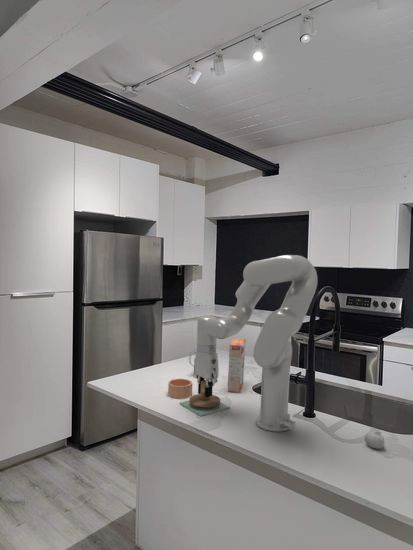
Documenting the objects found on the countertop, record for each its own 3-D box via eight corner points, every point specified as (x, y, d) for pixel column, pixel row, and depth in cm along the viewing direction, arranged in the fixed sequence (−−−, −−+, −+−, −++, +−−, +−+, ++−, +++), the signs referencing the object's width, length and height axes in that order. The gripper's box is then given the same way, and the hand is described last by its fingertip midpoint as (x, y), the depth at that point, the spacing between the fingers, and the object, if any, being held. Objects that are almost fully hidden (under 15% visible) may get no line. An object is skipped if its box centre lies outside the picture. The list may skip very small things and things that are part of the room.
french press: (215, 377, 185) (216, 326, 184) (192, 379, 181) (193, 327, 180) (207, 371, 194) (209, 322, 193) (185, 373, 190) (187, 323, 189)
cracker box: (241, 393, 165) (242, 345, 164) (227, 392, 166) (228, 344, 165) (244, 383, 179) (246, 338, 178) (231, 381, 180) (233, 337, 179)
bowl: (196, 395, 161) (196, 383, 161) (176, 400, 155) (176, 388, 155) (183, 388, 169) (183, 377, 168) (163, 392, 163) (164, 381, 163)
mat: (229, 408, 148) (229, 406, 148) (200, 416, 140) (200, 415, 140) (208, 397, 159) (208, 395, 159) (179, 404, 151) (179, 402, 151)
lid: (226, 403, 148) (227, 383, 148) (201, 409, 141) (202, 388, 141) (207, 393, 158) (208, 375, 157) (183, 399, 151) (183, 379, 150)
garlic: (387, 447, 121) (388, 431, 121) (381, 453, 117) (382, 436, 117) (367, 440, 125) (368, 425, 125) (361, 446, 121) (362, 430, 121)
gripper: (227, 351, 144) (226, 399, 145) (201, 342, 157) (200, 387, 158) (211, 354, 140) (210, 403, 140) (186, 344, 153) (185, 390, 154)
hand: (205, 394), depth 149 cm, fingers closed on lid, 3 cm apart
